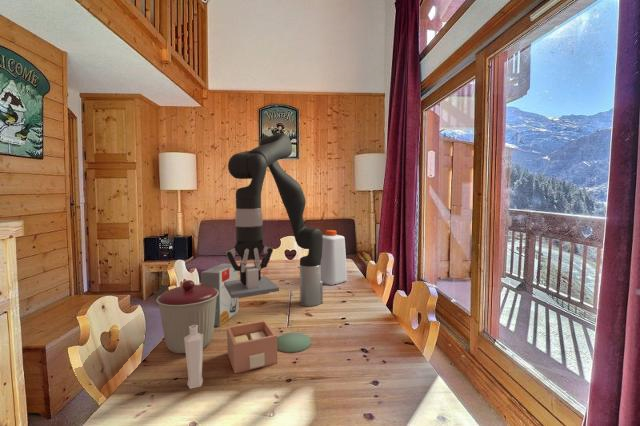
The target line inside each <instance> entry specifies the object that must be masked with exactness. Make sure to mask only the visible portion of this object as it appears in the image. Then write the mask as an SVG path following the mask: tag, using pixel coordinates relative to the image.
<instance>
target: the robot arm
mask: <svg viewBox="0 0 640 426" xmlns="http://www.w3.org/2000/svg"><path fill="white" fill-rule="evenodd" d="M292 145H293V144H292V141H291V139H290V136H288V135H287V134H286V133H277V134H273V135H269V136H266V137H263V138H261V139H260V141H259V146H256V147H254V148H253V149H250V150H247V151H243V152H242V151H241V152H236V153H234V154H233V155H231V157H230V158H229V160H228V163H227V169H228V172H229V174H230V175H231V177H233V178H234V179H236V180H237V179H238V180H247V179H248V180H250V179H251V181H250V183H249V184H248V185H246V186H243V187H239V188H237V189H236V191H235V216H234V218H235V245H234V247H233V248H232V249H230V250H226V251H225V255H226V257H227V259H228V261H229V264H231V265H232V267H233V268H234V270H235V271H238V272H239V280H240V281H241V283H243V285H246V272H245V269H246V265H248V264H247V263H248V261H249V260H253V261H252V262H253V264H254V266H255V267H256V268H257V269H258V274H259V281H260V280H261V277H262V276H261V273H262V272H261V270H262V269H265V268H267V267H268V265H269V261H270V260H271V256H272V253H273V251H274V248H272V247H270V246H266V245H265V243H264V241H263V240H264V237H263V235H264V234H263V232H264V231H263V230H264V229H263V227H264V226H263V222H264V220H263V213H262V190H263V185H264V181H265V177H266V173H267V169H269V171H270V173H271V176H272V178H273V179H274V182H275V185H276V188H277V190H278V192H279V197H280V198H281V201H282V204H283V206H284V209H285V210H286V213H287V216H288V219H289V222H290V226H291V229H292V232H293V237H294V240H295V242H296V245H297V246H298V247H299V248H301V249H307V250H308V252H307V255H305V256H302V257H300V258H299V302H300V305H302V306H305V307H315V306H318V305H321V304H323V302H324V301H323V300H324V299H323V295H324V293H323V291H324V290H323V288H324V286H323V284H324V283H323V282H322V281H321V258H322V247H323V236H322V235H323V233H322V231H321V230H320V229H319V228H315V227H307V226H306V224H305V221H304V211H305V208H306V203H307V202H306V197H305V194H304V191H303V188H302V186H301V184H300V183H299V182H298V181H297V180H296V179H295V178H293V176H291V175H290V174H288V173H287V172H286V171H285V170H284V169H283V168H282V167H281V165H280V163H279V160H283V159H286V158H288V157H290V156H291V155H292V154H293V146H292ZM262 252H263V254H264V255H263V257H262V260H260V256H261V253H262ZM236 253H237V254H238V255H239V257H240V261H239V263H240V264H238V263H237V262H236V259H235V256H236ZM237 264H238V265H237Z"/></svg>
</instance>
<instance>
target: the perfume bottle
mask: <svg viewBox="0 0 640 426" xmlns="http://www.w3.org/2000/svg"><path fill="white" fill-rule="evenodd" d="M189 328H190V334H189V335H188V336H186V337H184V342H185V351H186V353H185V358H186V368H187V377H188V379H187V386H188V388H189V389H190V390H192V389H195V388H200V387H201V386H202V385H203V382H204V378H203V375H202V374H203V355H204V353H203V352H204V348H203V335H204V334H200V333H198V325H192V326H190V327H189Z"/></svg>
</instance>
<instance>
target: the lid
mask: <svg viewBox="0 0 640 426" xmlns="http://www.w3.org/2000/svg"><path fill="white" fill-rule="evenodd" d="M245 272H246V285H243V283H241V281H240V279H238V280H234V281H226V282H224V286H225V287H226V289H227V291H228V293H229V295H230V296H231V298H238V297H239V299H242V298H248V297H255V296H262V295H267V294H270V293H276V292H280V287H279V286H278V285H277V284H276V283H275V282H273V281H272V280H271V279H270V278H269V277H268V276H261V280H260V281H259V274H258V269H257V268H256V267H255V265H253V264H246V269H245Z"/></svg>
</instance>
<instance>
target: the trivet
mask: <svg viewBox="0 0 640 426" xmlns="http://www.w3.org/2000/svg"><path fill="white" fill-rule="evenodd" d="M311 345H312V339H311V337H310V336H308V335H307V334H304V333H300V332H289V333H284V334H281V335H278V336H277V351H280V352H282V353H291V354H294V353H300V352H303V351H306V350H307V349H309V348H310V347H311Z"/></svg>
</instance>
